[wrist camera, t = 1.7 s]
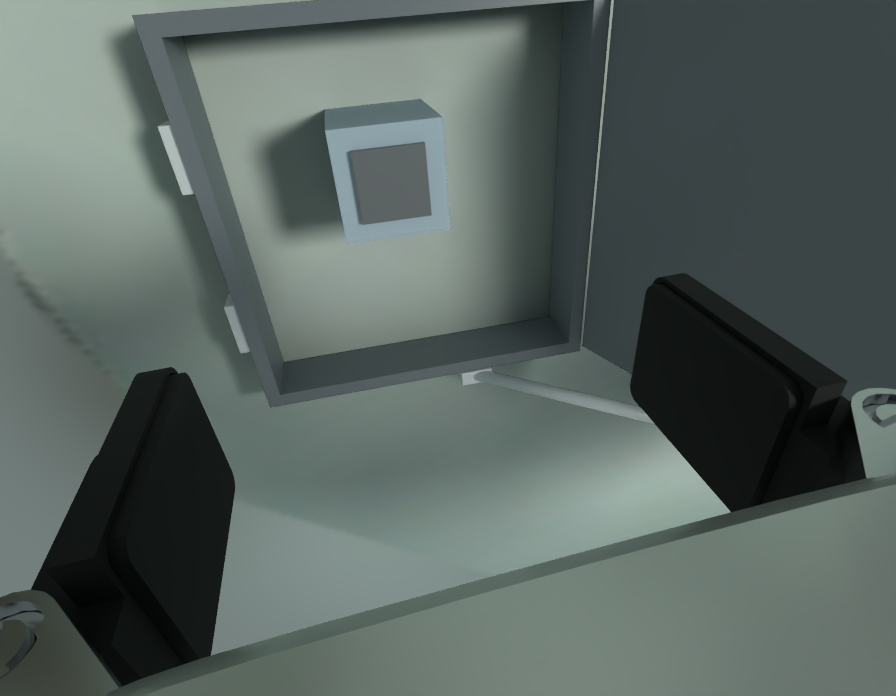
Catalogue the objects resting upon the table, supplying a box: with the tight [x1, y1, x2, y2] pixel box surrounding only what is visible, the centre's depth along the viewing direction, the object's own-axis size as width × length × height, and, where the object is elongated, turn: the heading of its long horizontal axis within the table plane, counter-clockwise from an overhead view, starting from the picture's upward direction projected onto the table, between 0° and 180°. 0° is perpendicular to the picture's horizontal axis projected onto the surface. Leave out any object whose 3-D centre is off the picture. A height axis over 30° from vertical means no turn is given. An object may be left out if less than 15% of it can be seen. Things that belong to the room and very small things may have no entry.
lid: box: [582, 0, 896, 401], centre depth 22 cm, size 17×19×1 cm
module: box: [325, 99, 451, 244], centre depth 25 cm, size 5×5×6 cm
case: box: [132, 0, 655, 424], centre depth 25 cm, size 24×21×12 cm
